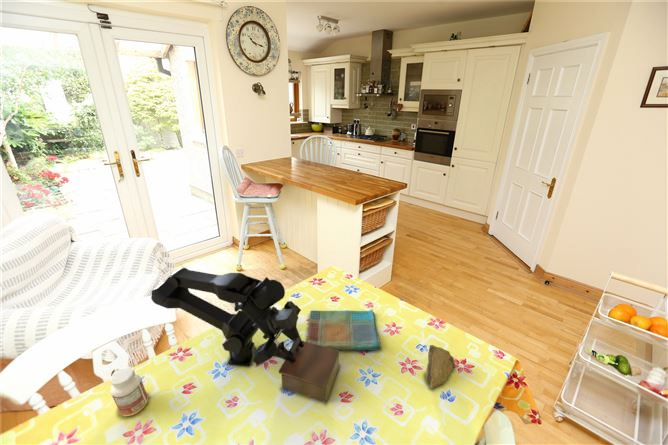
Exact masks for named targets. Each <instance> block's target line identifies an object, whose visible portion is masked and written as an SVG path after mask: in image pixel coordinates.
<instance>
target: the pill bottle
mask: <svg viewBox="0 0 668 445" xmlns="http://www.w3.org/2000/svg"><path fill="white" fill-rule="evenodd" d="M109 381H110V384H111V385H110V394H111V397H112V399H113V401H114V403H115V405H116V407H117V410H118V412H119V414H120V415H122V416H123V417H130V416H133V415H136V414H137V413H139V412H141V410H143V408H145V406H146V405H147V402H148V401H149V400H148V398H149V397H148V393H147V391H146V388H145V386H144V383H143V380H142V377H141V375H140V374H139V373H138V372H136V371H135V370H134V368H133V367H132V366H123V367H121V368H119V369H117V370H116V371H115V372H113V373H112V375H111V376H110V380H109Z"/></svg>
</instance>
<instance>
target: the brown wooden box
mask: <svg viewBox="0 0 668 445" xmlns="http://www.w3.org/2000/svg"><path fill="white" fill-rule="evenodd" d="M339 368H340V354H339V355H338V358H337V360H336V363H335V366H334V369H333V371H332V374H331V377H330V380H329V382H328V385H327V388H324V387H321V386H317V385H314V384H311V383H308V382H305V381H302V380H298V379H295V378H292V377H289V376H286V375H282V374H280V376H281V386H282V389H283V390H286V391H289V392H292V393H295V394H299V395H302V396H305V397H307V398H312V399H314V400H317V401H321V402H324V403H327V401H328V400H329V396H330V393H331V390H332V387H333V384H334V382H335V380H336V379H335V378H336V376H337V373H338V370H339Z"/></svg>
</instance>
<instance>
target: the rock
mask: <svg viewBox="0 0 668 445" xmlns="http://www.w3.org/2000/svg"><path fill="white" fill-rule="evenodd" d="M455 369H456V363H455V358H454V356H452V355H451V353H450V351H448V350H446V349H444V348H442V347H440V346H436V345H434V344H429V348H428V353H427V365H426V369H425V377H426V381H427V384H428V386H429V387H430V389H432V390H433V389H435V387H437V386H439V385H442V384H443V383H445V381H446V380H447V379H448V377H449V376H450V374H451V372H453V371H455Z"/></svg>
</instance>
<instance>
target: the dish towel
mask: <svg viewBox="0 0 668 445" xmlns="http://www.w3.org/2000/svg"><path fill="white" fill-rule="evenodd" d="M308 322H309V323H308V332H307V341H306V342H309V343H312V344H316V345H320V346H323V347H327V348H331V349H334V350H338V351H372V350H379V349H381V348H382V345H381V341H380V336H379V331H378V326H377V321H376V315H375V312H374V310H373V309H369V310H314V309H313V310H310V311H309V321H308Z"/></svg>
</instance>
